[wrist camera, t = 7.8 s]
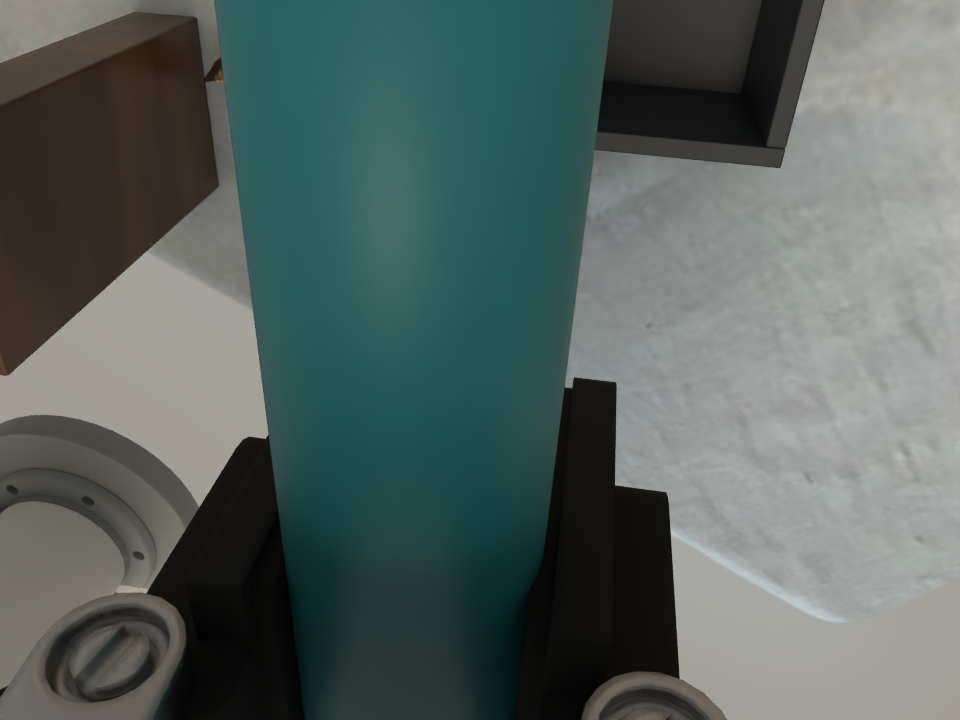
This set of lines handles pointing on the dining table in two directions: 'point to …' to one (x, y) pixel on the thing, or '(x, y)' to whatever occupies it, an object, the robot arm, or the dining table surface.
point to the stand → (94, 165)
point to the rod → (413, 323)
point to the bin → (705, 78)
